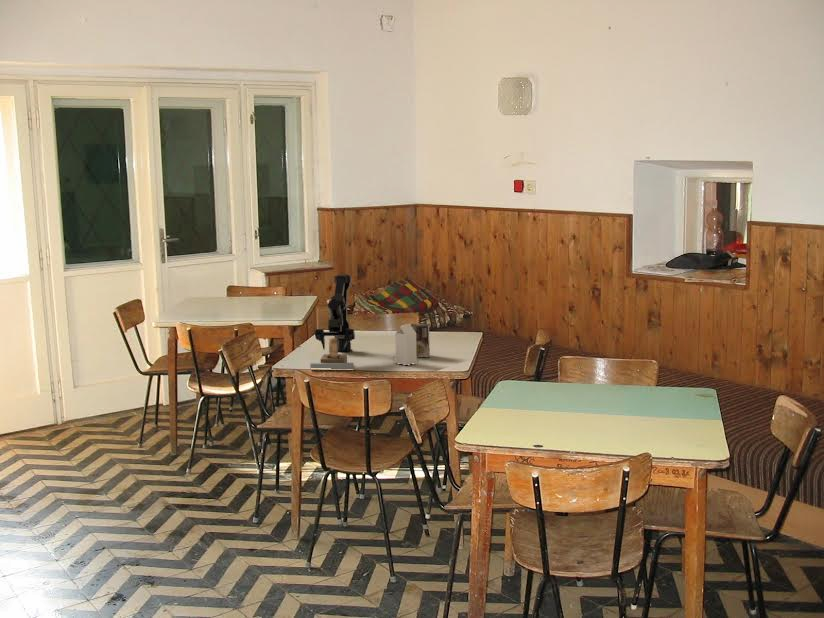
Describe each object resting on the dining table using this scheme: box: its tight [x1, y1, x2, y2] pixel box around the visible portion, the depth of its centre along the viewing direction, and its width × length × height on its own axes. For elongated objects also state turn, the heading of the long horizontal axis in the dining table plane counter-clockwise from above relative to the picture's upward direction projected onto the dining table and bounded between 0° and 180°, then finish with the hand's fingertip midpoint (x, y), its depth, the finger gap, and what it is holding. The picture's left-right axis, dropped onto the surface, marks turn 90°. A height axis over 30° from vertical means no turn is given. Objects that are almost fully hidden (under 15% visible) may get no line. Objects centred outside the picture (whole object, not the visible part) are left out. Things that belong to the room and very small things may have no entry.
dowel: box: [328, 337, 339, 358], centre depth 450 cm, size 4×4×13 cm
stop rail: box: [309, 362, 355, 370], centre depth 445 cm, size 2×20×4 cm, turn 87°
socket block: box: [320, 353, 348, 363], centre depth 451 cm, size 11×11×5 cm
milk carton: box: [394, 323, 418, 366], centre depth 454 cm, size 7×7×19 cm
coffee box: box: [410, 323, 431, 358], centre depth 469 cm, size 9×6×16 cm
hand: (333, 349), depth 450 cm, fingers open, 9 cm apart
